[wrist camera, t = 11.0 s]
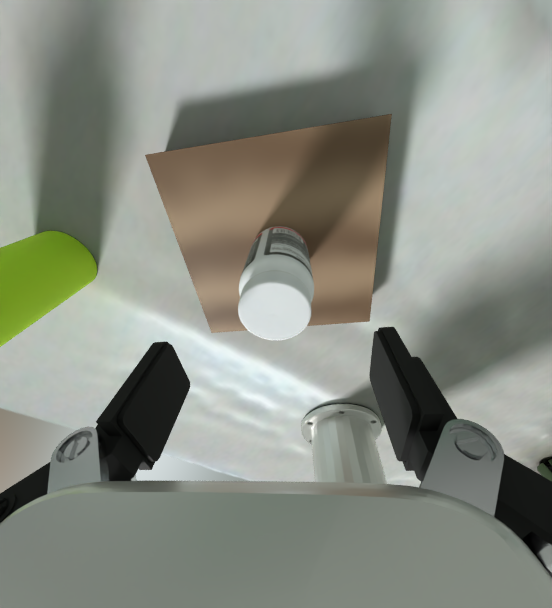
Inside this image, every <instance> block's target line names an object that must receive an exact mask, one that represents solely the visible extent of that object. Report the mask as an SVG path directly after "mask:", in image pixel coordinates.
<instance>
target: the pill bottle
mask: <svg viewBox="0 0 552 608" xmlns="http://www.w3.org/2000/svg"><path fill="white" fill-rule="evenodd" d="M239 294H240V300H239V304H238V314H239V318H240V320H241V322H242V324H243V325H244V326H245V328H246V329H247V330H248V331H250V332H251V333H253V334H254V335H256V336H258V337H260V338H263V339H268V340H285V339H289V338H292V337H294V336H296V335H298V334H299V333H301V332H302V331H303V330H304V329H305V328H306V326H307V325H308V323H309V321H310V318H311V302H312V299H313V296H314V281H313V276H312V270H311V265H310V258H309V253H308V248H307V245H306V243H305V241H304V239H303V238H302V236H301V235H300V234H298V233H297V232H296V231H294V230H292V229H290V228H287V227H282V226H278V227H271V228H268V229H266V230H264V231H262V232H261V233H260V234H259V235H258V236H257V237H256V238H255V240H254V242H253V244H252V246H251V249H250V252H249V255H248V257H247V260H246V263H245V266H244V269H243V272H242V274H241V277H240V282H239Z"/></svg>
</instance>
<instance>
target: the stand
mask: <svg viewBox="0 0 552 608" xmlns="http://www.w3.org/2000/svg"><path fill="white" fill-rule="evenodd" d="M391 116H392V114H388V115H382V116H376V117H370V118H364V119H358V120H352V121H346V122H340V123H334V124H328V125H322V126H316V127H310V128H304V129H298V130H292V131H286V132H280V133H274V134H268V135H262V136H256V137H250V138H244V139H238V140H232V141H226V142H220V143H214V144H208V145H202V146H196V147H190V148H184V149H178V150H172V151H166V152H160V153H154V154H148V155H145V156H146V159H147V161H148V164H149V167H150V169H151V172H152V175H153V177H154V180H155V183H156V185H157V188H158V191H159V193H160V196H161V199H162V201H163V204H164V207H165V209H166V212H167V215H168V217H169V220H170V223H171V225H172V228H173V231H174V233H175V236H176V239H177V241H178V244H179V247H180V249H181V252H182V255H183V257H184V260H185V263H186V265H187V268H188V271H189V273H190V276H191V279H192V281H193V284H194V287H195V289H196V292H197V295H198V297H199V300H200V303H201V305H202V308H203V311H204V313H205V316H206V319H207V321H208V324H209V327H210V329H211V332H212V333H216V332H230V331H244V330H247V329H246V328H245V326H244V325H243V324H242V322H241V320H240V318H239V314H238V304H239V300H240V294H239V282H240V277H241V274H242V272H243V269H244V266H245V263H246V260H247V257H248V255H249V252H250V249H251V246H252V244H253V242H254V240H255V238H256V237H257V236H258V235H259V234H260V233H261V232H262V231H264V230H266V229H268V228H271V227H278V226H282V227H287V228H290V229H292V230H294V231H296V232H297V233H298V234H300V235H301V236H302V238H303V239H304V241H305V243H306V245H307V248H308V253H309V258H310V265H311V270H312V276H313V281H314V296H313V299H312V302H311V318H310V321H309V323H308V325H307V326H312V325H326V324H340V323H354V322H367V321H370V312H371V302H372V293H373V284H374V274H375V265H376V256H377V246H378V237H379V228H380V218H381V209H382V200H383V190H384V181H385V172H386V162H387V153H388V144H389V134H390V125H391Z"/></svg>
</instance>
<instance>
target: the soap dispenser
mask: <svg viewBox="0 0 552 608" xmlns="http://www.w3.org/2000/svg"><path fill="white" fill-rule="evenodd" d="M96 275H97V265H96V262H95V260H94V258H93V256H92V254H91V253H90V252H89V250H88V249H87V248H86V247H85V246H84V245H83V244H82V243H80V242H79V241H78V240H76V239H75V238H73V237H71V236H69V235H67V234H65V233H62V232H58V231H45V232H42V233H39V234H36V235H34V236H31V237H28V238H26V239H23V240H20V241H18V242H15V243H12V244H10V245H7V246H4V247H1V248H0V347H1V346H2V345H4V344H5V343H6V342H8V341H9V340H11V339H12V338H13V337H15V336H16V335H18V334H19V333H20V332H22V331H23V330H25V329H26V328H27V327H29V326H30V325H32V324H33V323H34V322H36V321H37V320H39V319H40V318H41V317H43V316H44V315H46V314H47V313H48V312H50V311H51V310H53V309H54V308H55V307H57V306H58V305H60V304H61V303H62V302H64V301H65V300H67V299H68V298H69V297H71V296H72V295H74V294H75V293H76V292H78V291H79V290H81V289H82V288H83V287H85V286H86V285H88V284H89V283H90V282H92V281H93V280H94V279H95V277H96Z"/></svg>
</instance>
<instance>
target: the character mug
mask: <svg viewBox="0 0 552 608" xmlns="http://www.w3.org/2000/svg"><path fill="white" fill-rule="evenodd" d="M548 462H549V463H550V464H551V465H552V459H551V460H549V461H548ZM547 467H548V468H547ZM547 467H546V466H545V465H544V463H541V464H540V465H539V466H538V467H537V469H538V471H539V472H540V474H541V475H542V476H543V477H545V478H547V479H548V480H550V481H552V466H550V465H547Z"/></svg>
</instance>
